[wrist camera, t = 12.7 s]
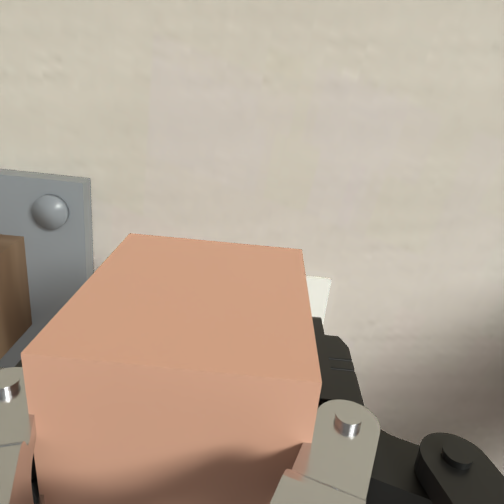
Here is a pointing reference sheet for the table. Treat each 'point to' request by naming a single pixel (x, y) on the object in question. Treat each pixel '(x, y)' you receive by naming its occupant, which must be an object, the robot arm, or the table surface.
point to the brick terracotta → (175, 376)
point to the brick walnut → (13, 292)
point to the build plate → (47, 241)
